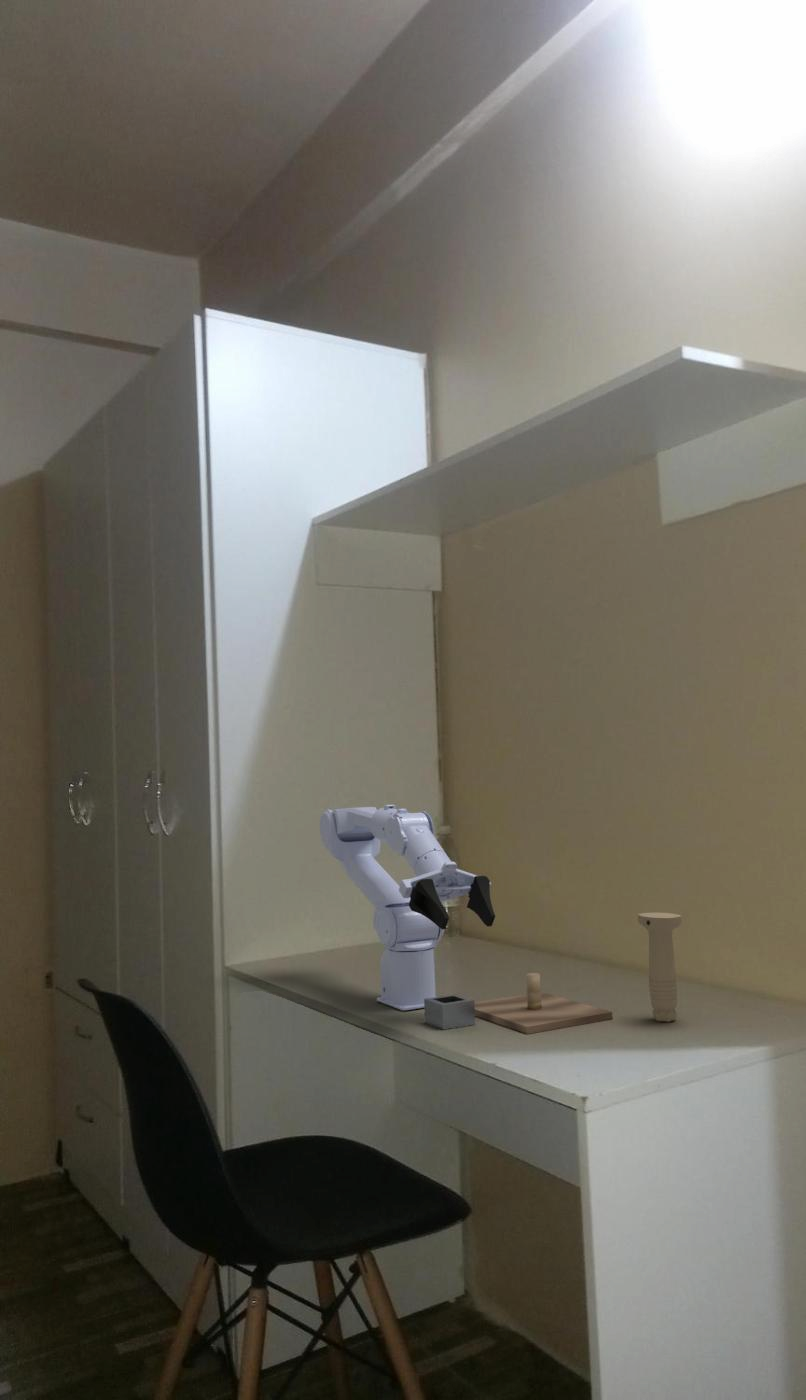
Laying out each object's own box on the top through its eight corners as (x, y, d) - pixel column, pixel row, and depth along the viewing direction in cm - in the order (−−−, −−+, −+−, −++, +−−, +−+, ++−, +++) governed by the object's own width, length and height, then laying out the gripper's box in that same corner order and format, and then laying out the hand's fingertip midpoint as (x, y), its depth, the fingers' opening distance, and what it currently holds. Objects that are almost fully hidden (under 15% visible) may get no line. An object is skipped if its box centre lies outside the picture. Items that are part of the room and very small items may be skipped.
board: (461, 1011, 172) (459, 971, 172) (541, 998, 179) (539, 960, 179) (527, 1034, 156) (525, 990, 156) (612, 1018, 163) (610, 977, 163)
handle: (659, 1013, 165) (654, 911, 166) (693, 1020, 160) (687, 915, 161) (636, 1018, 162) (631, 915, 163) (670, 1026, 157) (664, 919, 158)
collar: (425, 1022, 165) (424, 998, 165) (456, 1017, 168) (455, 994, 168) (443, 1029, 160) (442, 1005, 160) (475, 1024, 163) (474, 1000, 163)
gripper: (395, 845, 167) (431, 902, 156) (479, 843, 173) (519, 898, 162) (384, 883, 170) (418, 942, 159) (467, 879, 176) (505, 936, 165)
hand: (468, 922), depth 161 cm, fingers open, 7 cm apart
